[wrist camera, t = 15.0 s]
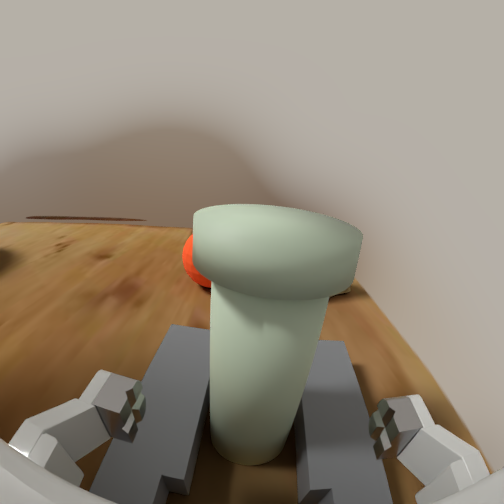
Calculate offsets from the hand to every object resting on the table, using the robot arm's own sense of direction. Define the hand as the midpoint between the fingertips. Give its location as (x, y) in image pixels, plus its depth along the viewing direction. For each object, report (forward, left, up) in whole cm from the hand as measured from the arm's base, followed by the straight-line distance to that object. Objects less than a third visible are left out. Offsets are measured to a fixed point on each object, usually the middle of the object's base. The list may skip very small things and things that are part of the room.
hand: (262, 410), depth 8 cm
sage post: (-3, +2, -7) cm, 8 cm away
